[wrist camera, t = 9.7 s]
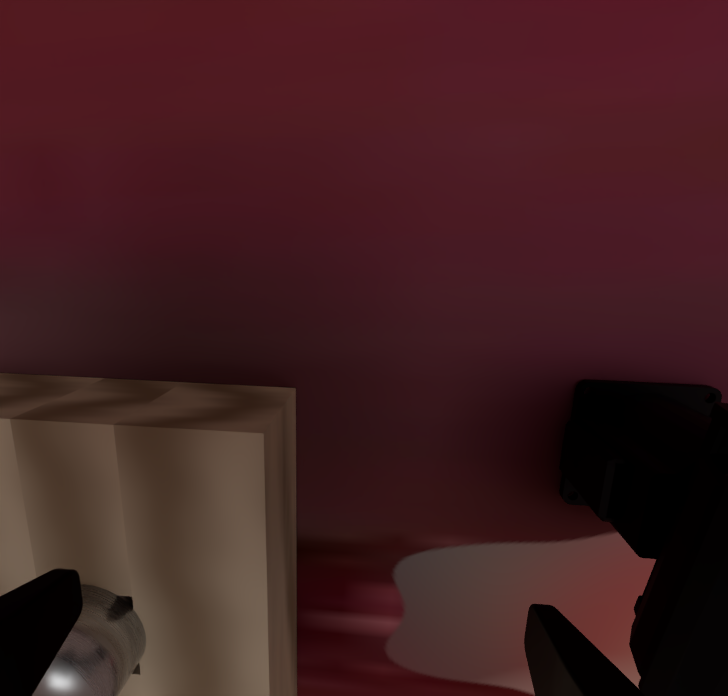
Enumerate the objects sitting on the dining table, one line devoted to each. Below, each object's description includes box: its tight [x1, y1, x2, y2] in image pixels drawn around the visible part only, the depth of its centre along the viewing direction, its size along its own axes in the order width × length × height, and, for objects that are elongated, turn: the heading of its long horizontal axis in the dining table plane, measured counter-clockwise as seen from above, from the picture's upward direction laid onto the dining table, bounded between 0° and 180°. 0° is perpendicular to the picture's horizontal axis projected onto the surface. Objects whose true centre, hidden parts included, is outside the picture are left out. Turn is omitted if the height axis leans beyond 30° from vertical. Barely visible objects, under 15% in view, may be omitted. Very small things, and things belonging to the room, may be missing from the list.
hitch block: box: [0, 373, 297, 696], centre depth 21 cm, size 16×20×6 cm
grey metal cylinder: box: [32, 584, 146, 696], centre depth 19 cm, size 5×5×8 cm
